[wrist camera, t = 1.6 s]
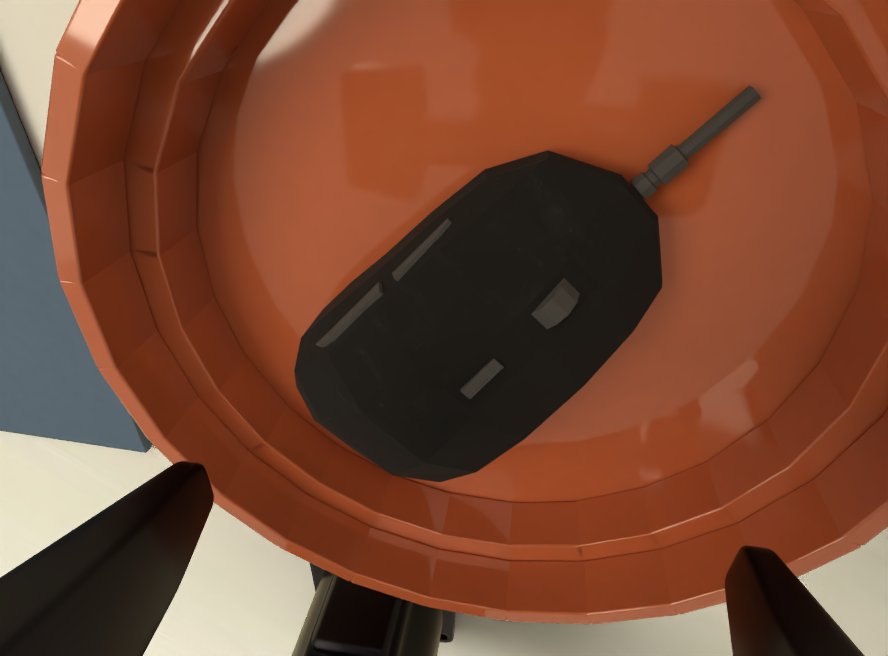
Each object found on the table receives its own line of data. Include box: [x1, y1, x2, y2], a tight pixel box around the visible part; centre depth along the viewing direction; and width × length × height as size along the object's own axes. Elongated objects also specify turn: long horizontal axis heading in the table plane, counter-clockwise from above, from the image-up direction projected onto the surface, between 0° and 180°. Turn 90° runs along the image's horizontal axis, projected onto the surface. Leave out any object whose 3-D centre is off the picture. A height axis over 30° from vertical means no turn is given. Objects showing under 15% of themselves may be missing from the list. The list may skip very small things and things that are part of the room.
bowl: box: [41, 0, 888, 624], centre depth 14 cm, size 20×20×4 cm
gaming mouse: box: [294, 85, 761, 482], centre depth 14 cm, size 6×15×4 cm, turn 137°
